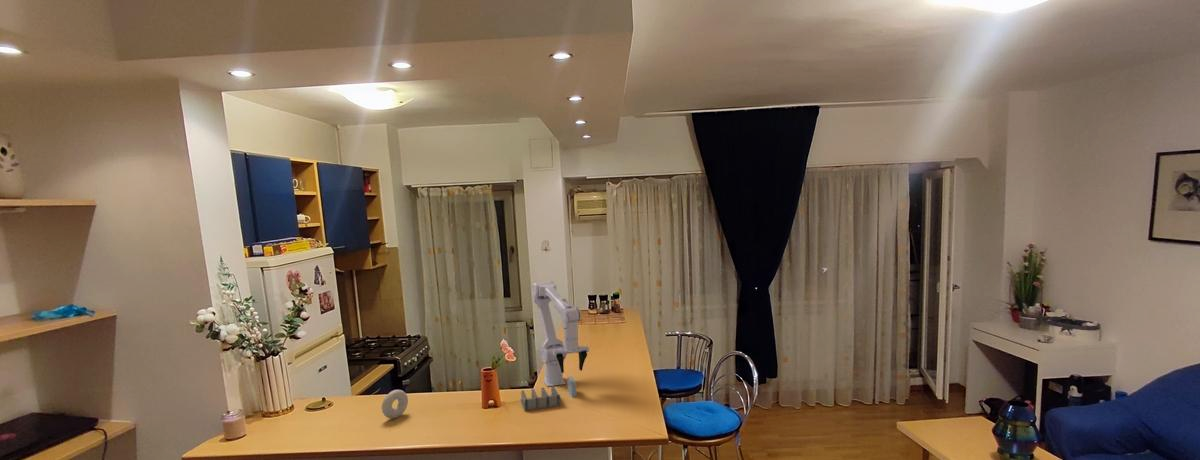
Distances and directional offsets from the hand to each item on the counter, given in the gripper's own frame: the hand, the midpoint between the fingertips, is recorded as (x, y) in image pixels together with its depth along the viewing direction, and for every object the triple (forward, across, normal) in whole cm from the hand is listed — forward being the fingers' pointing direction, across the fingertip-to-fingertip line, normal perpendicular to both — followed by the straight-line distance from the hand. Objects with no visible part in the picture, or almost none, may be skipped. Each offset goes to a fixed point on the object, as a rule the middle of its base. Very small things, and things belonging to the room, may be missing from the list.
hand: (571, 371), depth 188 cm
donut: (+10, -66, +1) cm, 67 cm away
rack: (+9, -14, -5) cm, 18 cm away
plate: (+10, 0, 0) cm, 10 cm away
